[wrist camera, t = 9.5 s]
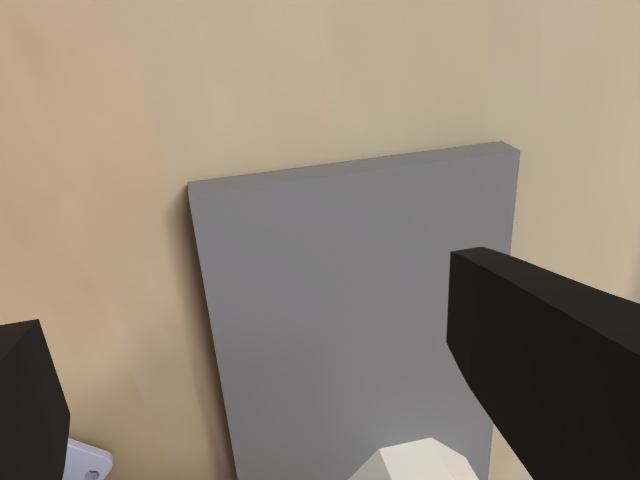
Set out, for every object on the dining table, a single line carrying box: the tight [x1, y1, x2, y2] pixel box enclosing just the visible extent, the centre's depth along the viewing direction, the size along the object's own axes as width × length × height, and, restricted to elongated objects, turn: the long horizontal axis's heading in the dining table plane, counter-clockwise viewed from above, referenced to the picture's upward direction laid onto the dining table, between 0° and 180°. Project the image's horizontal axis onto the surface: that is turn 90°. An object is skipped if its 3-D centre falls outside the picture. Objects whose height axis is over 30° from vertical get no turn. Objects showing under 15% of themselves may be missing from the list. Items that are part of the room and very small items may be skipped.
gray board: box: [188, 141, 520, 480], centre depth 23 cm, size 20×11×1 cm, turn 4°
